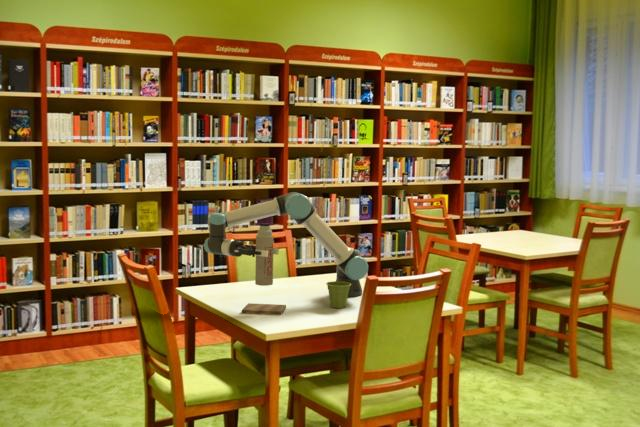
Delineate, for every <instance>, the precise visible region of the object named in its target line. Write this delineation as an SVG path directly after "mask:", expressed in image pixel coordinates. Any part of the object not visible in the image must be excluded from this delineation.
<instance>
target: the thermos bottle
mask: <svg viewBox="0 0 640 427" xmlns="http://www.w3.org/2000/svg"><path fill="white" fill-rule="evenodd" d="M255 246H256V249H257V250H266V251H268V257H263V256H255V278H254V279H255V282H254V283H255V285H257V286H262V287H265V286H272V285H274V254H273V248H274V235H273V230H272V229H271V223H268V222H262V223H259V229H258V230H257V235H255Z"/></svg>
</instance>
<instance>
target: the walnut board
mask: <svg viewBox="0 0 640 427" xmlns="http://www.w3.org/2000/svg"><path fill="white" fill-rule="evenodd" d="M286 309H287V305H286V304H271V303H269V304H268V303H252V302H251V303H249V302H248V303H247V304H246V305H245V306H244V307H243V308H242V309H241V313H242V314H248V315H249V314H250V315H251V314H252V315H253V314H254V315H272V316H273V315H274V316H277V315H278V316H282V315H283V313H284V312H285V310H286Z"/></svg>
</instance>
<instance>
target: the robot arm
mask: <svg viewBox="0 0 640 427" xmlns="http://www.w3.org/2000/svg"><path fill="white" fill-rule="evenodd" d="M288 215H289V217H291V218H292V220H294V222H296V224H297V225H299V226H304V227H305V228H306V230H307V231H308V232H309V233H310V234H311V235H312V236H313V237H314V238H315V239H316V240H317V242H319V243H320V244H321V245H322V246H323V248H324V249H325V250H326V251H327V252H328V253H329V254H330V255H331V256H332V257H333V259H335V264H336V265H335V266H336V280H335V281H340V282H348V283H351V286H350V289H349V292H348V297H350V298H351V297H353V298H354V297H360V296H362V295H363V289H362V285H361V282H360V280H361V279H363V278H364V277H365V276H366V275H367V274H368V272H369V264H368V262H367V260H366V259H365V258H364V257H362V256H361V252H360V250H359V249H354V247H348V245H346V243H345V242H344V241H343V240H342V239H341V238H340V237H339V236H338V235H337V234H336V233H335V231H334V230H333V229H332V228H331V227H330V226H329V225H328V224H327V223H326V222H325V221H324V219H322V218H321V217H320V216H319V214H318V213H317V208H316V207H315V205H314V204H312V202H311V201H310V198H308V196H306V195H305V194H303V193H299V192H297V191H291V192H288V193H285V194H283V195H279V196H276V197H274V198H273V199H272V200H268V201H264V202H260V203H256V204H252V205H249V206H245V207H240V208H236V209H233V210H229V211H225V212H213V213H210V214H209V216H208V219H207V226H208V227H209V232H208V233H209V236H208V237H207V238H206V239H205V241H204V243H203V248H204V251H205V252H206V253H208V254H213V255H220V256H227V257H228V258H229V257H230V256H231V257H236V258H237V257H238V258H240V257H242V255H244V256H249V257H250V256H251V257H252V258H256V256H263V257H268V251H266V250H257V249H256V245H253V244H251V245H249V244H244V242H243V241H242V240H237V239H227V238H226V228H231V227H234V226H239V225H242V224H245V223H249V222H254V221H258V220H262V219H265V218H269V217H273V216H279V217H281V216H288ZM273 255H280V248H276V247H273ZM348 297H347V298H348Z"/></svg>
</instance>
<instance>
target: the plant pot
mask: <svg viewBox="0 0 640 427" xmlns="http://www.w3.org/2000/svg"><path fill="white" fill-rule="evenodd" d="M326 286H327V290H328V297H329V298H328V299H329V305H330V308H333V309H336V308H337V309H345V308H346V307H347V302H348V292H349V289H350V286H351V283H348V282H340V281H336V280H335V281H328V282H326Z"/></svg>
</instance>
